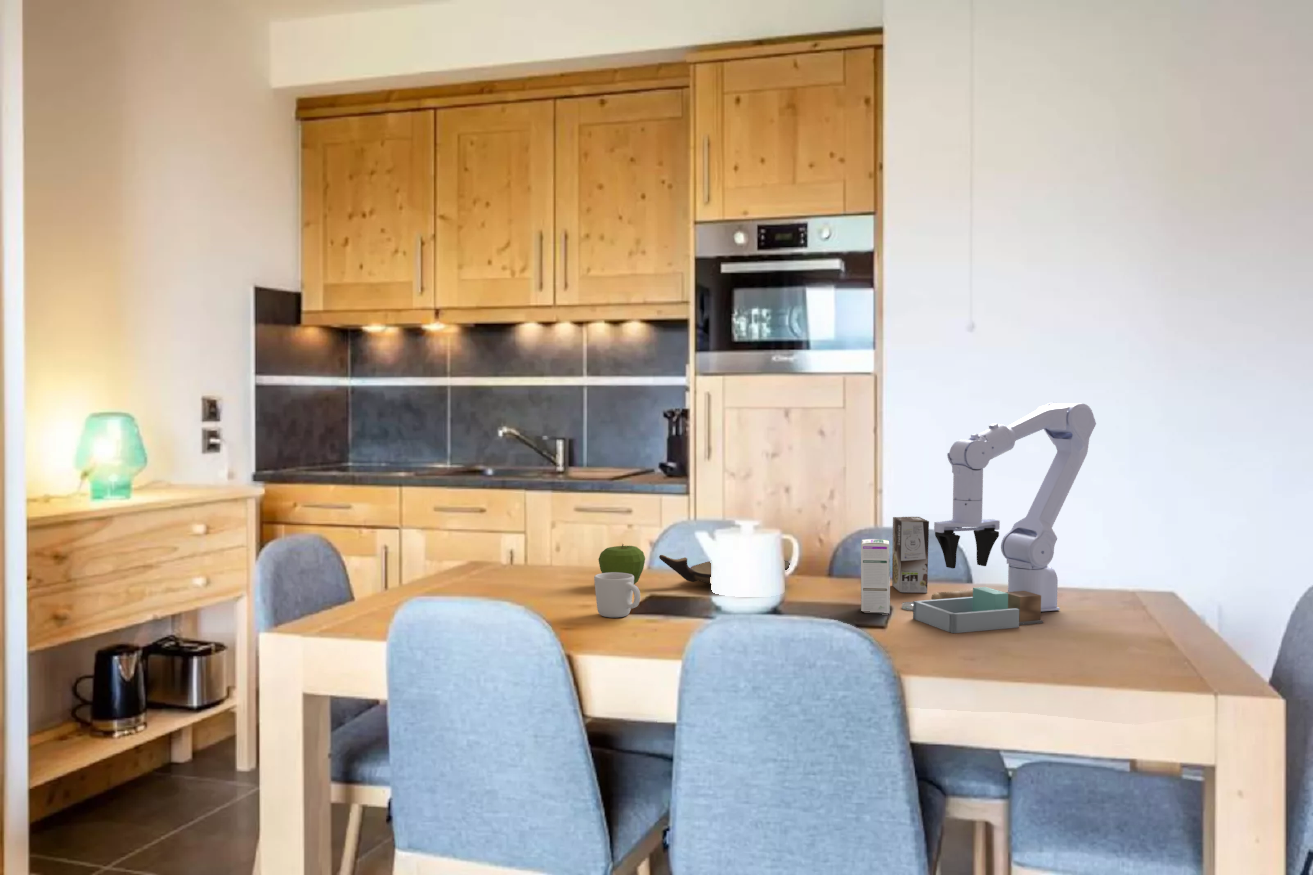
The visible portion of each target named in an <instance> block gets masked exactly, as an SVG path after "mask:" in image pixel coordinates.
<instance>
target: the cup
mask: <svg viewBox="0 0 1313 875" xmlns="http://www.w3.org/2000/svg"><path fill="white" fill-rule="evenodd" d="M593 580H594V588H595V589H594V592H595V600H596V602H595V603H596V608H597V609H596V610H597V612H598V615H600V616H602V617H605V618H611V619H612V618H613V619H615V618H623V617H627V616H629V614H630V612H631V610H632V609H634V608H635V609H636V608H637V607H638V606H639V605H640V601H641V591H640V589H639V587H638V586H637V585H636V584H634V576H633V575H632V574H628V573H618V572H611V573H602V572H601V573H598V574H595V575H594V578H593ZM633 595H634V597H633Z"/></svg>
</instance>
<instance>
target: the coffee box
mask: <svg viewBox="0 0 1313 875" xmlns="http://www.w3.org/2000/svg"><path fill="white" fill-rule="evenodd" d="M929 530H930V521H929V520H927V519H924V518H923V517H921V516H893V517H892V554H891V556H892V560H891V561H892V564H891V565H892V566H891V567H892V569H891V570H892V571H891V575H892V576H891V578H892V580H891V585H892V587H893V588H895V590H897V591H898V592H899V593H905V594H906V593H909V594H910V593H912V594H913V593H916V594H917V593H918V594H919V593H920V594H921V593H922V594H927V593H928V582H929V581H928V576H929V575H928V574H929V573H928V572H929V540H930V538H929V536H930V534H929V533H930V531H929Z"/></svg>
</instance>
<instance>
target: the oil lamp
mask: <svg viewBox="0 0 1313 875" xmlns="http://www.w3.org/2000/svg"><path fill="white" fill-rule="evenodd" d="M658 559H659V560H660V561H662V562H663V563H664V564H666V565H667V566H668V568H670V569H672V570H673V571H675V572H676V573H677V574H678V575H679V576H681V577H682V578H683V579H684V580H685V581H688V582H692V583H694V582H703V583H705V584H709V583H710V577H711V563H710V561H711V560H710V561H709V560H708V561H705V562H701V563H697V564H695V565H692V566H691V567H689V565H688V558H687V557H682V558H676V559H675V558H671V557H668V556H667V555H665V554H659V556H658ZM784 561H785V570H787V569H788V568H789V565H790V563H791V562H789V560H784ZM709 585H710V584H709Z"/></svg>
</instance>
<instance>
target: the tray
mask: <svg viewBox="0 0 1313 875" xmlns="http://www.w3.org/2000/svg"><path fill="white" fill-rule="evenodd" d="M912 602H913V611H912V619H913V620H915V621H918V622H921V623H924V624H926V625H929V626H932V627H934V628H937V629H940V630H942V631H946V632H949V633H951V634H959V633H970V632H972V633H973V632H981V631H982V632H983V631H992V630H993V631H994V630H1004V629H1016V628H1020V625H1019V609H1017V608H1012V609H1000V610H988V611H975V612H972V610H973V597H962V598H949V599H936V600H932V599H925V600H924V599H923V600H913V601H912Z"/></svg>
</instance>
